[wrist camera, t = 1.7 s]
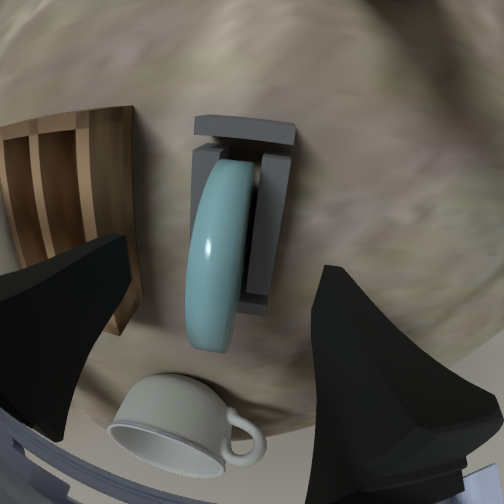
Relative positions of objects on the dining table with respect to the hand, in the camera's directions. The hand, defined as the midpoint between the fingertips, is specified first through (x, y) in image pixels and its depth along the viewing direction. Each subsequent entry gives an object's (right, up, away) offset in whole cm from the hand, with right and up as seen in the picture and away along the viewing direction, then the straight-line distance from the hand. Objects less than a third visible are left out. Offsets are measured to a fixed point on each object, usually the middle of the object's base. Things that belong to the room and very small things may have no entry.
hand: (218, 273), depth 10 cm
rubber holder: (+1, +3, +5) cm, 6 cm away
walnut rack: (-12, +4, +6) cm, 14 cm away
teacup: (-4, -13, +15) cm, 20 cm away
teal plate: (+1, +3, +5) cm, 6 cm away
